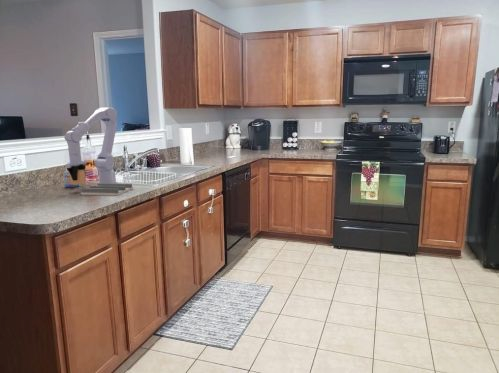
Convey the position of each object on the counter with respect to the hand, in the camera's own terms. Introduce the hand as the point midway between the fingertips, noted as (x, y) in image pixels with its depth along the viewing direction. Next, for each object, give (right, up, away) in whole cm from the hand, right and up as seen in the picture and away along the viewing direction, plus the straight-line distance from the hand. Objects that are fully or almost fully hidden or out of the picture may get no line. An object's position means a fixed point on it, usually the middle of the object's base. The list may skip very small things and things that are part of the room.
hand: (77, 179), depth 204 cm
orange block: (0, -2, 0) cm, 2 cm away
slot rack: (+17, -6, -2) cm, 18 cm away
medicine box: (-9, -4, +15) cm, 18 cm away
